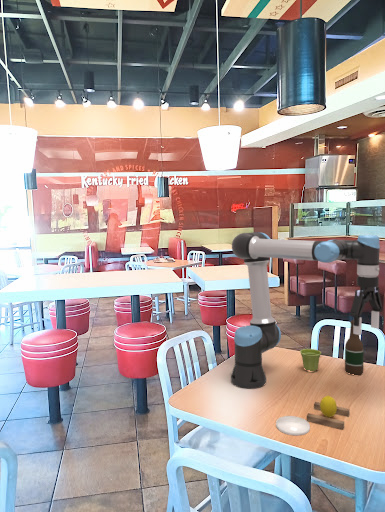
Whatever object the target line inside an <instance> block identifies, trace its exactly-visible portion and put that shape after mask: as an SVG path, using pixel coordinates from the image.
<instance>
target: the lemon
mask: <svg viewBox="0 0 385 512" xmlns="http://www.w3.org/2000/svg"><path fill="white" fill-rule="evenodd" d="M319 403H320V409H321V411H320V412H321V414H322V415H323V416H324V417H327V418H332V417H334V416H335V415H336V414H335V413H336V411H337V407H338V405H337V402H336V400H335V399H334V397H332V396H330V395H325V396H324V397H322V398H321V400H320V402H319Z"/></svg>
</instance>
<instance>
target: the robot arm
mask: <svg viewBox="0 0 385 512" xmlns="http://www.w3.org/2000/svg"><path fill="white" fill-rule="evenodd" d="M231 249H232V252H233V255H235V257H237V258H239V259H241V260H243V263H244V264H245V266H247V270H248V271H247V272H248V281H249V282H248V283H249V290H250V291H249V292H250V294H249V295H250V301H251V303H250V304H251V312H252V317H251V319H250V320H249V325H246V326H244V325H243V326H241V327H239V328H237V329H236V330H235V331H234V337H233V339H234V340H233V341H234V365H233V369H232V372H231V374H230V382H231V384H232V383H233V384H232V385H233V386H235V385H236V387H238V388H242V389H258V388H261V387H263V385H264V384H265V383H266V384H267V376H266V373H265V370H264V367H263V353H266V352H267V351H269V350H273V349H274V348H275V347H277V346H278V344H279V343H280V342H281V339H282V331H281V329H280V327H279V326H278V324H276V323H277V322H276V319H275V318H274V317H273V316H272V307H271V296H270V284H269V274H268V263H269V262H270V261H271V260H270V258H272V259H284V260H286V259H288V260H298V261H299V260H302V261H316V262H320V263H324V264H325V263H333V262H336V261H340V260H355V261H357V264H356V274H357V276H356V286H357V287H359V288H360V289H359V290H358V289H355V290H354V299H353V302H352V306H351V309H350V313H349V316H350V317H352V318H353V320H354V323H353V334H357V335H359V336H361V335H362V318H363V317H361V316H362V314H363V312H364V309H365V306H366V304H368V302H369V304H370V306H371V308H372V310H371V318H370V321H371V322H370V323H371V324H370V327H371V328H374V329H380V312H383V303H382V300H381V299H382V298H381V295H380V287H379V282H380V281H379V280H380V278H379V277H378V276H380V275H379V274H380V270H381V269H380V253H381V252H380V249H381V245H380V236H378V235H377V234H375V235H374V234H360V235H358V236H357V239H355V240H354V239H353V240H352V239H351V240H350V239H329V240H327V241H326V240H303V239H301V240H300V239H279V238H277V239H276V238H275V239H274V238H270V236H269V235H267V234H266V233H264V232H261V231H260V232H259V231H255V232H254V231H252V232H243V233H239V234H237V235H236V236H235V237H234V238H233V239H232V242H231ZM266 384H265V385H266ZM265 385H264V386H265Z"/></svg>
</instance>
